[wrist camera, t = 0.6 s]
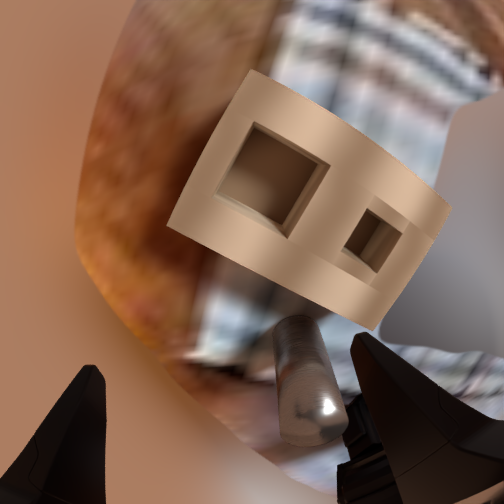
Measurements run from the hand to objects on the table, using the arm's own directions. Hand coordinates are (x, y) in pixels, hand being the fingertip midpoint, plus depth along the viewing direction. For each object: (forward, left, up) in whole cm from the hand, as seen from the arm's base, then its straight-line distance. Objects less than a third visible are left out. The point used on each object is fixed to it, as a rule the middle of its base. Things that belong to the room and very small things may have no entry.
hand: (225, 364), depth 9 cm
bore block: (-3, -5, -13) cm, 14 cm away
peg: (-8, +5, -13) cm, 16 cm away
